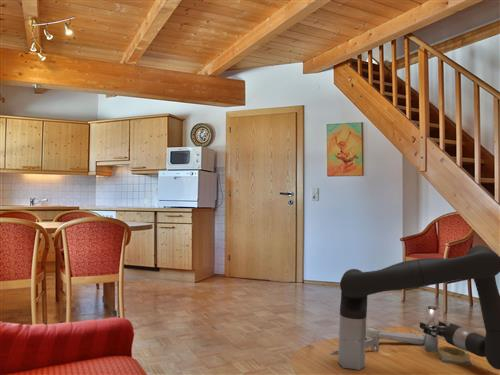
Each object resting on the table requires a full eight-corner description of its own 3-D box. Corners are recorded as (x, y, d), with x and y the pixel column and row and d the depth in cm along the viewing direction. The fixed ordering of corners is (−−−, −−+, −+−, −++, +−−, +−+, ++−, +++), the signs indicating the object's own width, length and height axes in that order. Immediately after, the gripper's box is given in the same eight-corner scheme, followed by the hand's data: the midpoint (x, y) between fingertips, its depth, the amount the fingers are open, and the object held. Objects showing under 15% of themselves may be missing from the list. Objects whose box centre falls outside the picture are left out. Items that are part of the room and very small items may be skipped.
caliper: (377, 350, 160) (377, 334, 160) (378, 351, 159) (379, 335, 159) (329, 354, 155) (330, 337, 155) (331, 355, 154) (331, 338, 154)
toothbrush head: (427, 337, 166) (368, 328, 164) (424, 353, 166) (365, 344, 164) (420, 332, 172) (363, 323, 170) (418, 348, 171) (360, 339, 169)
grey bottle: (438, 352, 160) (440, 309, 160) (425, 350, 161) (426, 307, 162) (436, 347, 165) (437, 306, 165) (423, 346, 166) (424, 304, 167)
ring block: (471, 365, 148) (472, 358, 148) (442, 361, 151) (442, 354, 151) (465, 355, 157) (465, 348, 158) (437, 352, 160) (437, 345, 160)
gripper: (476, 326, 152) (442, 313, 167) (446, 329, 147) (414, 315, 162) (476, 346, 152) (442, 332, 167) (446, 350, 147) (414, 334, 162)
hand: (428, 324), depth 165 cm, fingers open, 8 cm apart
